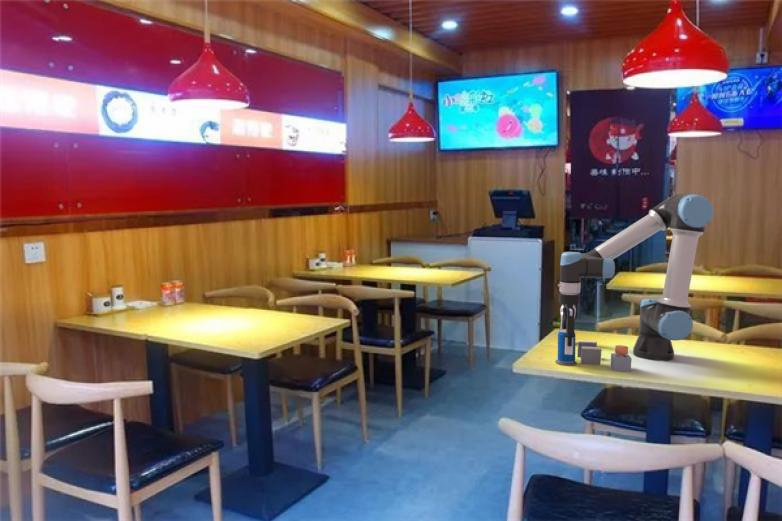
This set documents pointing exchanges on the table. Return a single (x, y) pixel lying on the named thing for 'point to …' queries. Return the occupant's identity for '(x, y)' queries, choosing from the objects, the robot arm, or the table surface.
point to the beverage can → (561, 348)
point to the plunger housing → (620, 362)
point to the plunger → (621, 350)
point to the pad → (566, 363)
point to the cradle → (589, 352)
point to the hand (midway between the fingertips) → (566, 350)
